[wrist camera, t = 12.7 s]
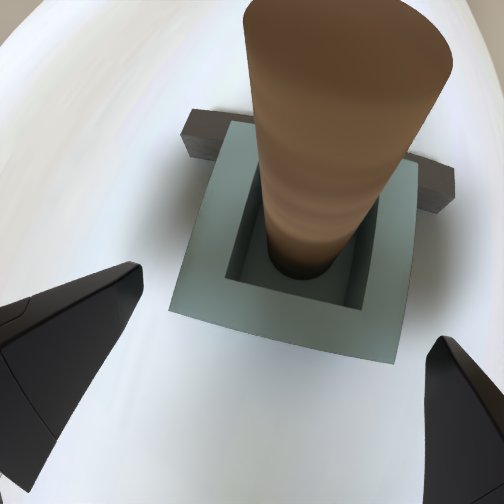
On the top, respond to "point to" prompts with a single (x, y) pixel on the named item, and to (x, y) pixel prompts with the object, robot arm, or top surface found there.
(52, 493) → the top surface
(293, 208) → the dowel
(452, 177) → the backstop bar
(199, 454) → the top surface
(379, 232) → the socket block
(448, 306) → the top surface
